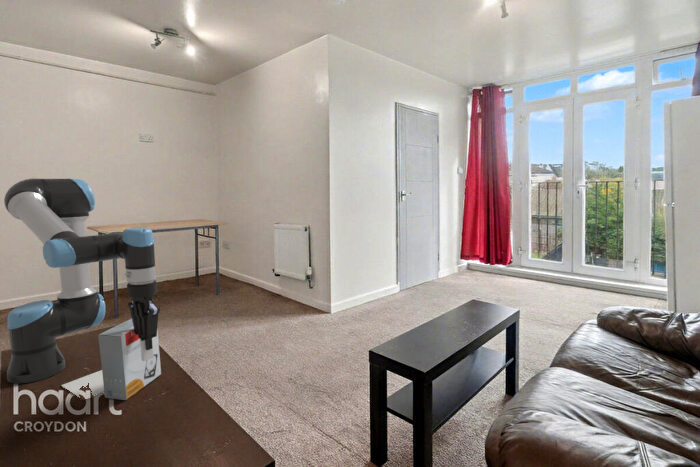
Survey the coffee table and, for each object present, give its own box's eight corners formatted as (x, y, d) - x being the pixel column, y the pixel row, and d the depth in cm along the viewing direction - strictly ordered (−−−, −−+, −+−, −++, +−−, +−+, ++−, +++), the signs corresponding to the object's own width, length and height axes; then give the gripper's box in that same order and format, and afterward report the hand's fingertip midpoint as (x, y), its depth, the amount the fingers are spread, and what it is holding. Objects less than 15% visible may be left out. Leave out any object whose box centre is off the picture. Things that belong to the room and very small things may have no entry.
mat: (61, 386, 118) (61, 385, 118) (112, 367, 131) (112, 366, 131) (83, 401, 110) (83, 399, 110) (135, 378, 123) (135, 377, 123)
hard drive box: (126, 401, 110) (118, 336, 107) (104, 398, 111) (95, 334, 108) (162, 373, 125) (156, 316, 122) (142, 371, 126) (136, 314, 123)
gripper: (116, 281, 109) (123, 358, 112) (140, 287, 102) (147, 369, 105) (142, 275, 116) (147, 349, 119) (167, 281, 109) (172, 359, 112)
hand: (147, 358), depth 112 cm, fingers closed
